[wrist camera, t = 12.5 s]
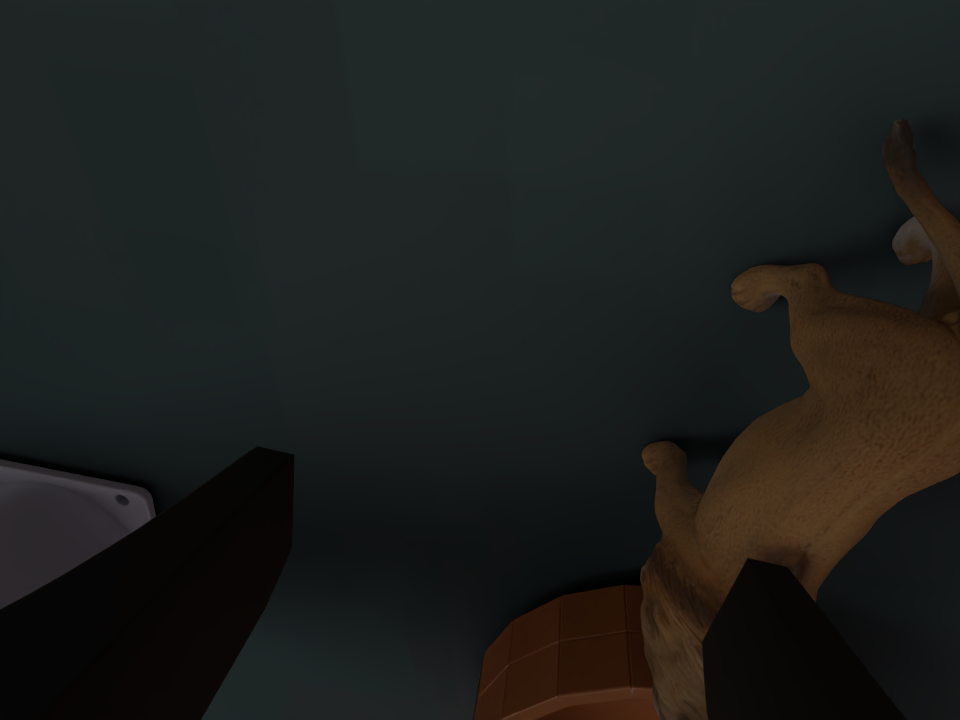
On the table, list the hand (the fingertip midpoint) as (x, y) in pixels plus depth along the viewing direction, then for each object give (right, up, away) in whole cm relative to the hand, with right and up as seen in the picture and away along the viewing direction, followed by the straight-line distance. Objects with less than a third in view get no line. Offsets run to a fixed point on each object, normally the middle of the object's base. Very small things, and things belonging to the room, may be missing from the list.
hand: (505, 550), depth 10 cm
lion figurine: (+8, +2, +9) cm, 12 cm away
